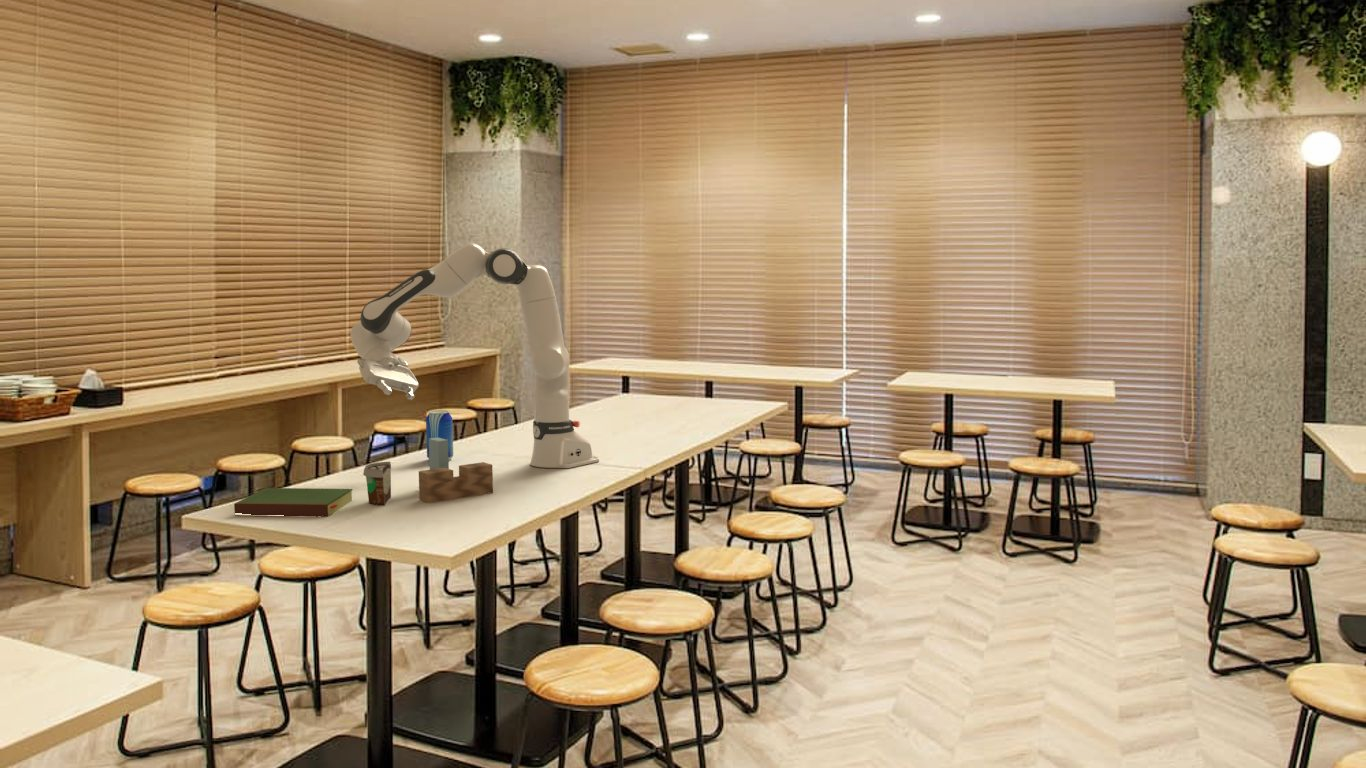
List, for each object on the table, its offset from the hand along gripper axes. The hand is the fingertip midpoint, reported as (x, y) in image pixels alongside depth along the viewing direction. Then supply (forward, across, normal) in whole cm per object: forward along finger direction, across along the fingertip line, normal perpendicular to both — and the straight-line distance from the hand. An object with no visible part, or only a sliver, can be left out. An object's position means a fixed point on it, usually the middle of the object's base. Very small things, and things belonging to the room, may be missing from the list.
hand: (400, 395), depth 323 cm
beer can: (+4, +32, +19) cm, 38 cm away
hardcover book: (+28, -35, +24) cm, 51 cm away
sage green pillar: (+31, +2, +6) cm, 32 cm away
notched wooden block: (+42, -4, -1) cm, 42 cm away
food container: (+35, -20, +12) cm, 41 cm away
